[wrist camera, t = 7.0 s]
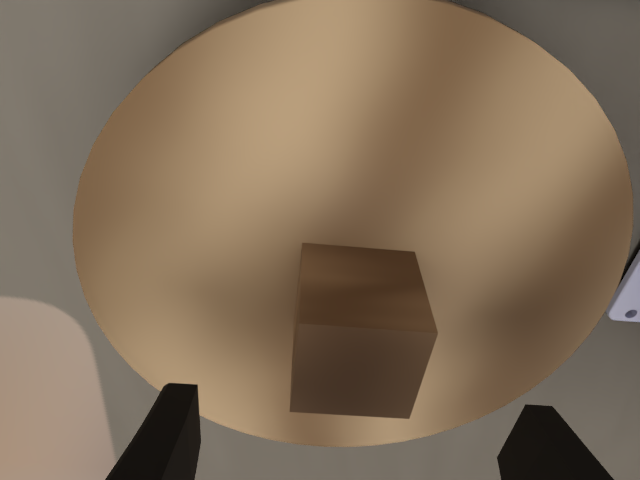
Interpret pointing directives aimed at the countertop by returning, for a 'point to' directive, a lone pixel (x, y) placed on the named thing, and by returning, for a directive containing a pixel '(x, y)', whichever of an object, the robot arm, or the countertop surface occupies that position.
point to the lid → (353, 219)
